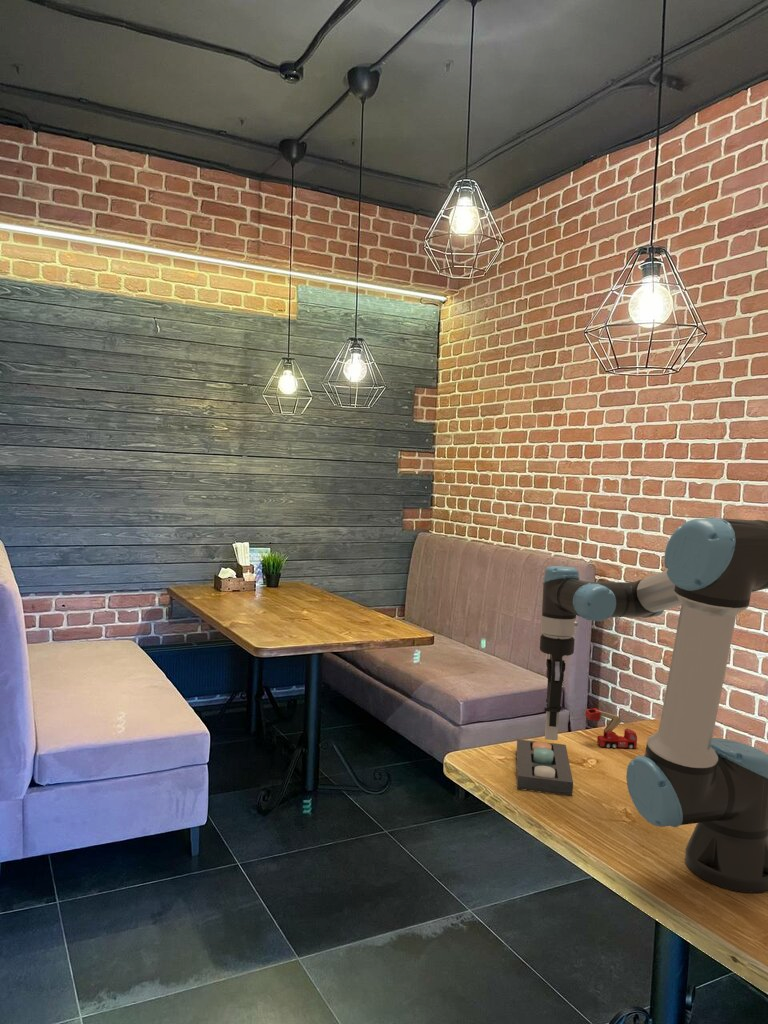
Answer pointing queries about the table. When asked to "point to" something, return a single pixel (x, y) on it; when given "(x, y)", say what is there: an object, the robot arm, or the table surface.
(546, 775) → the button ivory
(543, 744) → the button terracotta
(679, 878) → the table surface
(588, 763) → the table surface
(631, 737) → the toy fire truck
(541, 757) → the button teal
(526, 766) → the panel
